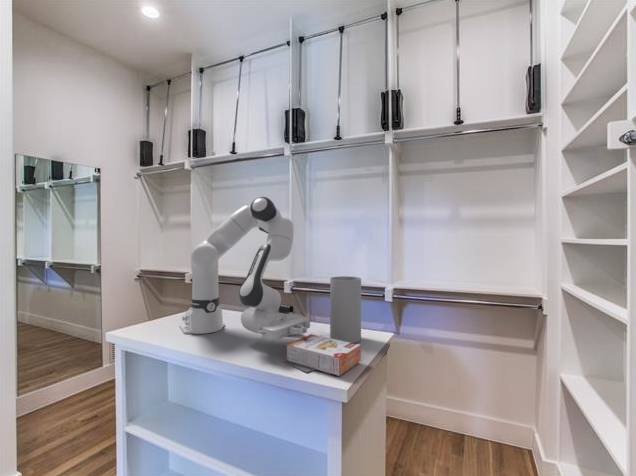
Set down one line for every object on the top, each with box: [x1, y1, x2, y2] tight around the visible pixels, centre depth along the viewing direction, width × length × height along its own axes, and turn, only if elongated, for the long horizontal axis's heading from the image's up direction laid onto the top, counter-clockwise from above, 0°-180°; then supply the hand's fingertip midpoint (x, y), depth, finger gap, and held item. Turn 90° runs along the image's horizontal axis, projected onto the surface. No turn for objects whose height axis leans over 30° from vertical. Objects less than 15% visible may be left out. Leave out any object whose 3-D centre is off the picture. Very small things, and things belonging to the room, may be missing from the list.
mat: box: [282, 359, 317, 374], centre depth 109 cm, size 12×16×1 cm
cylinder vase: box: [329, 275, 362, 344], centre depth 132 cm, size 12×12×25 cm
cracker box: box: [286, 333, 362, 377], centre depth 107 cm, size 14×6×21 cm
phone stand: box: [278, 303, 295, 315], centre depth 141 cm, size 9×6×12 cm, turn 142°
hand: (304, 331), depth 112 cm, fingers closed
